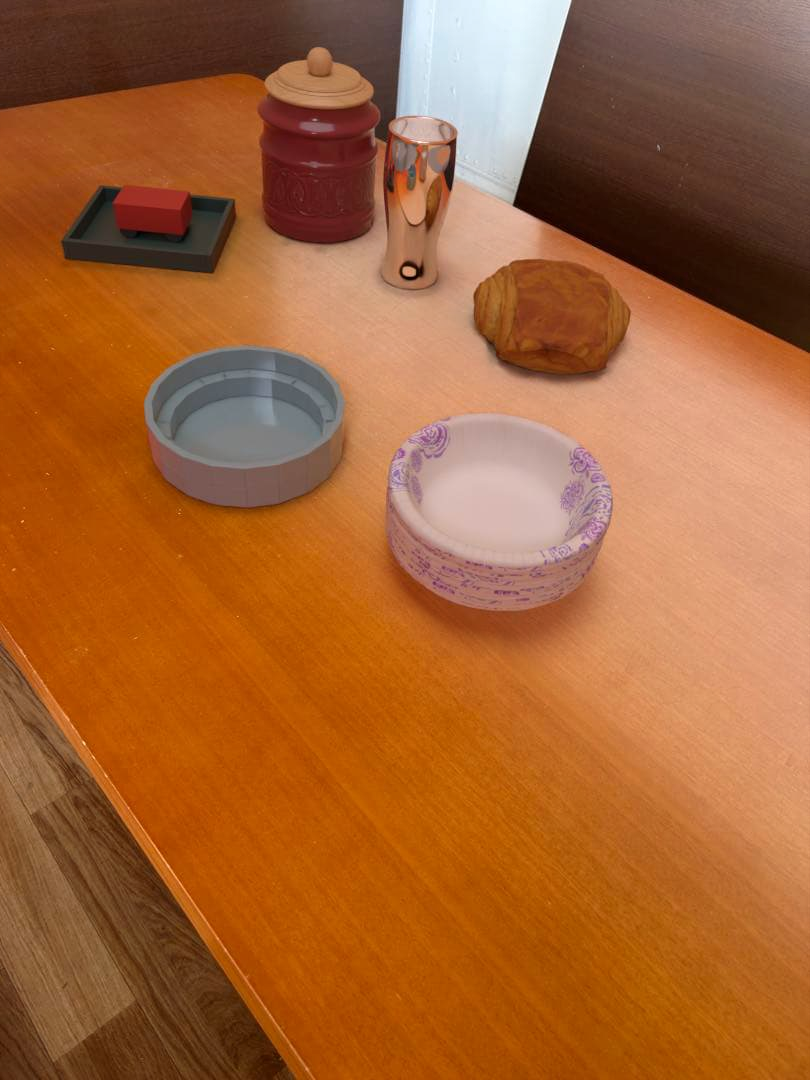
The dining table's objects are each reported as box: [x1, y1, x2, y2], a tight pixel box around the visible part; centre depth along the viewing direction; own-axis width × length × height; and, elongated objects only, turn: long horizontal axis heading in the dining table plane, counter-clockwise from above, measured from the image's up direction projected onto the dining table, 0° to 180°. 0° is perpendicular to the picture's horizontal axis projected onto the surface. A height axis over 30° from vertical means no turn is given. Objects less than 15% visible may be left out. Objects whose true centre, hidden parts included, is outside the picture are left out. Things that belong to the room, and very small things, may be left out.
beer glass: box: [380, 115, 459, 290], centre depth 80 cm, size 7×7×15 cm
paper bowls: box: [384, 412, 614, 612], centre depth 56 cm, size 15×15×8 cm
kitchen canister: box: [257, 46, 381, 243], centre depth 86 cm, size 13×13×18 cm
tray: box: [60, 184, 237, 274], centre depth 86 cm, size 15×13×2 cm
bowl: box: [143, 344, 346, 509], centre depth 63 cm, size 15×15×4 cm
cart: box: [113, 184, 192, 243], centre depth 85 cm, size 7×4×4 cm, turn 88°
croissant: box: [472, 258, 632, 375], centre depth 77 cm, size 14×16×8 cm
